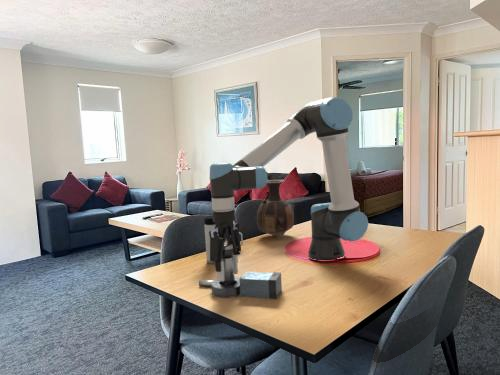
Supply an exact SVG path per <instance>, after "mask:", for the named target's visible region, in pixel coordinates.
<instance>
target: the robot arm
mask: <svg viewBox="0 0 500 375" xmlns="http://www.w3.org/2000/svg"><path fill="white" fill-rule="evenodd" d="M353 115H354V114H353V110H352V107H351V105H350V103H349V102H348V101H347V100H345V98H342V97H338V96H336V97H334V96H332V97H327V98H324V99H319V100H315V101H310V102H309V103H307V104H306V105H304V106H303V107H301V108H300V109H299V110H297V112H295V113H294V114H293V115H291V116H290V117H289V118H288V119H286V120H287V121H286V123H285V124H284V125H283V126H281V128H279V129H278V130H276V131H275V132H274V133H273V134H271V135H270V136H269V137H268V138H266V139H265V140H264V141H262V142H261V143H259V144H258V145H257V146H256V147H254V149H252V150H251V151H250V152H248V153H247V154H245V155H244V156H243V157H242V158H241V159H240V160H238V161H237V162H236V163H234V164H233V163H231V162H220V163H219V162H218V163H212V164H211V165H210V166H209V184H210V194H211V210H212V212H211V213H212V214H211V216H213V222H214V223H215V230H213V231H209V236H210V261H213V262H215V264H214V268H215V270H214V271H215V274H216V279H217V280H218V281H225V279H224V263H223V261H222V255H223V248H224V242H225V241H226V239H227V242H228V243H230V244H233V255H234V257H233V260H234V275H238V274H239V266H238V262H239V260H238V259H239V258H238V257H239V256H238V255H240V254H241V251H242V246H241V244H242V243H241V235H240V234H239V232H240V224H239V223H235V221H236V210H235V206H236V204H235V194H234V192H237V191H244V190H245V191H246V190H258V189H262V188H265V187H266V186H267V180H268V172H267V171H266V168H265V166H266V165H268V164H269V163H271V161H273V160H274V159H275V158H277V156H279V155H280V154H281V153H282V152H284V151H285V150H286V149H288V148H289V147H290V146H291V145H293V144H295V143H296V141H297V140H302V139H305V138H306V137H307V136H308V135H310V134H313V133H315V134H316V139H318V140H319V141H321V145H322V151H323V156H324V157H323V158H324V164H325V165H324V166H325V169H326V170H325V171H326V176H327V184H328V189H329V195H330V202H325V203H316V204H313V205H312V206H311V208H310V216H311V217H310V218H311V219H310V220H311V222H310V224H311V242H310V246H309V248H308V253H307V254H308V258H309V257H310V258H312V259H316V260H332V259H337V258H340V257H343V256H344V255H345V256H346V252H345V249H344V246H343V243H342V240H343V241H348V242H356V241H359V240H360V239H362V238H363V237H364V235H365V233H367V231H368V227H369V220H368V217H367V215H366V214H365V213H364V212H361V208H360V203H359V202H358V201H357V200H355V196H354V189H353V183H352V182H353V181H352V176H351V169H350V162H349V155H348V147H347V143H346V142H347V141H346V137H347V135H348V134H349V126H350V125H351V124H352V121H353ZM219 237H220V238H222V239H220V238H219ZM237 247H238V248H237ZM310 258H309V259H310Z"/></svg>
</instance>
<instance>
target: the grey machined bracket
mask: <svg viewBox="0 0 500 375" xmlns="http://www.w3.org/2000/svg"><path fill="white" fill-rule="evenodd" d="M198 286H200V287H211V293H212V296H215V297H217V298H223V299H224V298H235V297H246V298H256V299H257V298H258V299H259V298H260V299H271V300H277V299H278V298H279V296H280V294H281V293H282V291H283V289H282V272H280V271H279V272H275V271H274V272H265V271H264V272H263V271H247V270H245V272H243V274H242V275H241V276H240V277H239V276H235V284H234V285H230V286H222V282H221V281H218V280H217V278H216V279H214V280H208V279H207V280H206V279H200V280H199V281H198Z"/></svg>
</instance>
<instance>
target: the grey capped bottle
mask: <svg viewBox="0 0 500 375" xmlns="http://www.w3.org/2000/svg"><path fill="white" fill-rule="evenodd" d="M233 257H234V255H233V244H230V243H224V248H223V255H222V261H223V263H224V279H225V281H221V282H222V286H230V285H234V284H235V277H236V276H235V274H234V260H233Z"/></svg>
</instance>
